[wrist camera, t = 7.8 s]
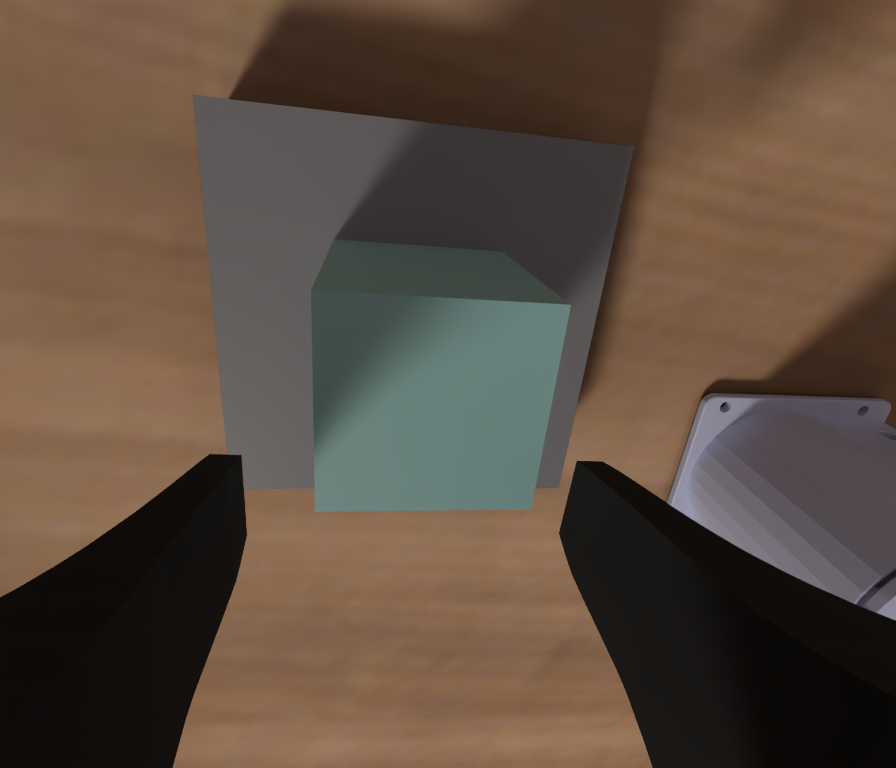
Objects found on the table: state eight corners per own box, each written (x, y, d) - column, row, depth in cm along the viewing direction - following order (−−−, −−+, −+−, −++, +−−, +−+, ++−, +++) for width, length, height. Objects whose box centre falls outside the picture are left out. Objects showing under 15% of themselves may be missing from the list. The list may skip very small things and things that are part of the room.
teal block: (501, 251, 15) (571, 304, 10) (481, 398, 17) (531, 509, 12) (333, 239, 15) (311, 290, 9) (333, 394, 17) (314, 511, 11)
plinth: (593, 147, 17) (634, 146, 15) (535, 447, 22) (558, 488, 19) (224, 105, 15) (192, 95, 13) (249, 443, 20) (230, 488, 18)
